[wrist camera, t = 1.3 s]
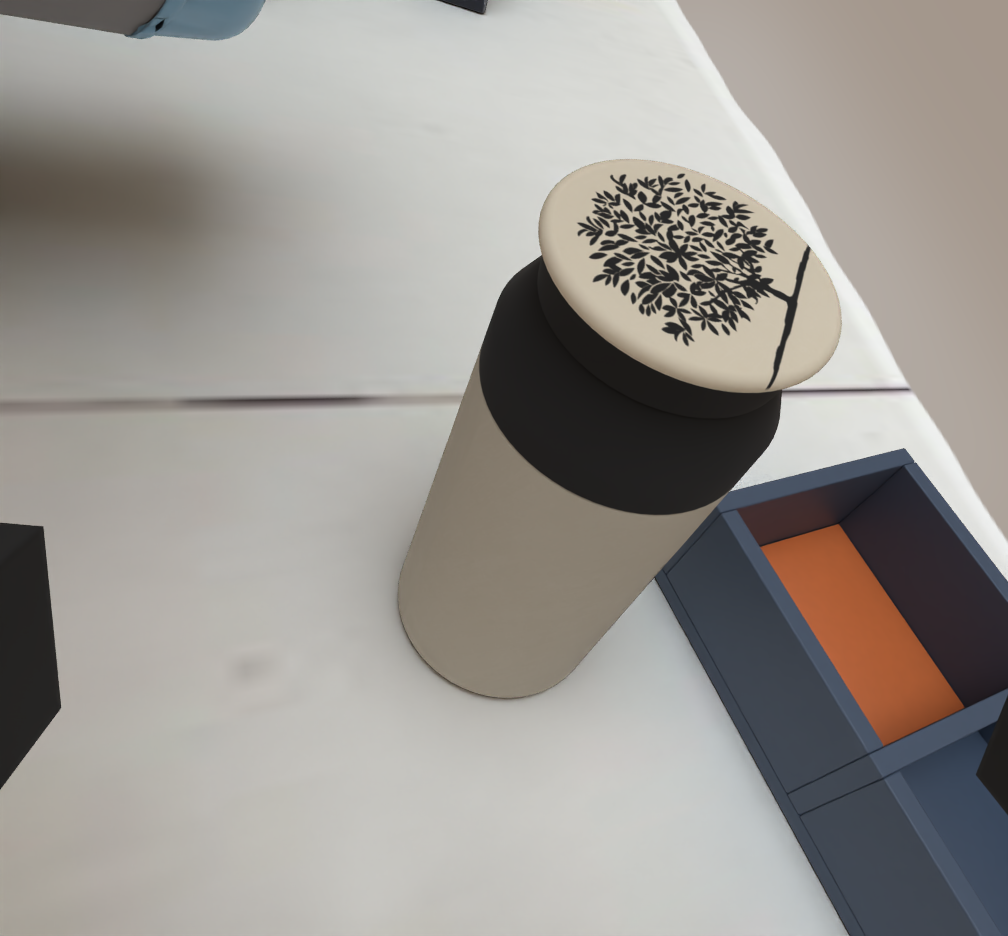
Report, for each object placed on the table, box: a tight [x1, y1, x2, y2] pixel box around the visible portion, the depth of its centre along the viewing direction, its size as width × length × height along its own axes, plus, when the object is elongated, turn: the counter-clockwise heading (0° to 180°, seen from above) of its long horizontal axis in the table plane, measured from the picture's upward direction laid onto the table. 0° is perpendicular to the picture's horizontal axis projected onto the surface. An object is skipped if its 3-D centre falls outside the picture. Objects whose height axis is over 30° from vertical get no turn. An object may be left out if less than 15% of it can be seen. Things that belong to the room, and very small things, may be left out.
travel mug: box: [398, 159, 842, 698], centre depth 26 cm, size 8×8×18 cm
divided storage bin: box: [655, 448, 1008, 936], centre depth 31 cm, size 21×11×6 cm, turn 23°
